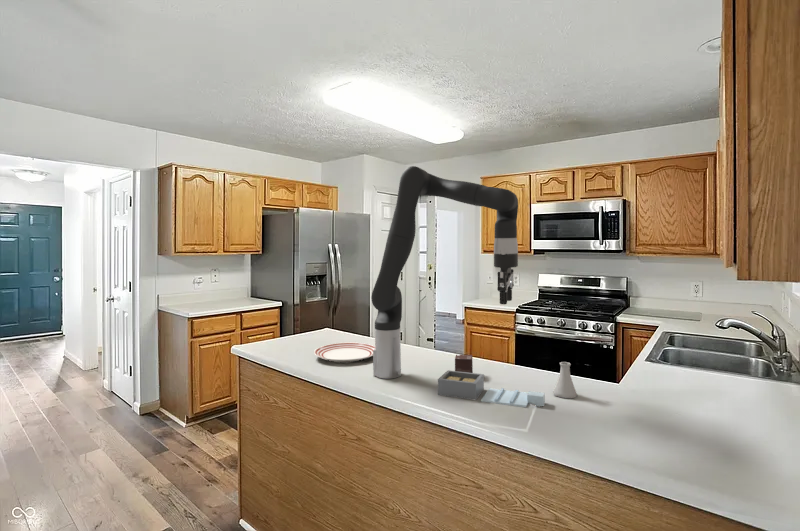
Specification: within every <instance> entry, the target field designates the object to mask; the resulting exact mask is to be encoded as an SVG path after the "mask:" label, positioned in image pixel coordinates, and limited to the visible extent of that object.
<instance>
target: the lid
mask: <svg viewBox="0 0 800 531" xmlns="http://www.w3.org/2000/svg"><path fill="white" fill-rule="evenodd" d="M545 398H546V396H545V392H541V391H540V392H539V391H534V390H533V391H531V390H529V391H528V392H525V391H519V389H515V390H507V389H505V388H503V387H501V389H499V388H491V387H490V388H488V389H487V391H486V392H485V394H484V395H483V396H482V398H481V400H480V401H481V402H483V403H491V404H498V405H506V406H510V407H511V406H514V407H520V408H527V407H528V404H534V405H536V406H535V407H540V406H545V404H544V403H546V402H545V401H546V400H545Z"/></svg>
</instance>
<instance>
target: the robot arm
mask: <svg viewBox="0 0 800 531" xmlns="http://www.w3.org/2000/svg"><path fill="white" fill-rule="evenodd" d="M420 196H425V197H426V196H429V197H431V196H432V197H439V198H444V199H449V200H452V201H457V202H459V203H462V204H467V205H471V206H476V207H485V208H487V209H492V210H495V211H496V221H495V223H494V240H493V267H494V268H500V270H499V271H497V274H496V275H497V291H498V292H499V304H500V305H507V304H508V302H510V301H512V300H513V288H514V285H515V284H514V271H515V270H514V268H517V267H519V265H518V264H519V260H518V259H519V248H518V247H519V244H518V228H517V225H518V224H517V220H518V212H519V200H518V196H517V195H516V194H515V193H514V192H513V191H512V190H510V189H506V188H502V187H501V188H500V187H493V186H487V185H483V184H479V183H475V182H471V181H470V182H469V181H462V180H451V179H446V178H443V177H442V178H441V177H440V176H439V177H438V176H436V175H433V174H431V173H429V172H428V171H426V170H425V169H423V168H421V167H418V166H414V165H411V166H408V167H407V168H405V169H404V170H403V172H402V173H401V176H400V178H399V185H398V191H397V200H396V202H395V203H396V205H395V208H394V211H393V212H394V213H393V216H392V219H391V224H390V227H389V231H388V234H387V239H386V243H385V247H384V251H383V252H384V253H383V256H382V260H381V264H380V270H379V272H378V275H377V279H376V281H375V283H374V287H373V289H372V292H371V297H370V298H371V304H372V305H373V307H374V308H375V310H377V316H376V319H375V321H374V346H375V349H374V350H373V356H372V363H373V364H372V370H373V372H372V374H373V376H374V377H377V378H379V379H386V380H387V379H389V380H391V379H395V378H398V377H400V376H402V358H401V357H402V356H401V355H402V354H401V353H402V352H401V351H402V350H401V349H402V348H401V321H402V319H403V316H402V315H403V314H402V313H403V296H402V292H401V289H400V288H399V286H398V283H399V279H400V275H401V273H402V271H403V269H404V267H405V265H406V263H407V261H408V259H409V257H410V255H411V252H412V250H413V249H412V248H413V245H414V241H415V238H416V230H417V229H416V228H417V227H416V212H417V211H416V210H417V205H418V202H419V198H420Z"/></svg>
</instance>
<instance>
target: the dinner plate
mask: <svg viewBox="0 0 800 531" xmlns="http://www.w3.org/2000/svg"><path fill="white" fill-rule="evenodd" d="M374 349H375V345H373V344H369V343H364V342H350V341H349V342H336V343H329V344H324V345H322V346H319V347H317V348H315V349H314V350H313V354H314V355H315V356H316V357H318V358H319V359H323V360H326V361H328V360H329V362H331V361H334V362H333V363H340V362H346V363H354V362H353V361H356V362H360V361H359V360H361V361H364V360H367V359H369V358H371V357H373V350H374ZM363 359H364V360H363Z"/></svg>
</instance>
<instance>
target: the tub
mask: <svg viewBox="0 0 800 531" xmlns="http://www.w3.org/2000/svg"><path fill="white" fill-rule="evenodd" d="M449 376H453V377H461V381H458V380H450V379H447V378H448V377H449ZM484 376H485V374H484V373H475V372H473V373H468V372H459V371H455V370H450V369H449V370H446V371H445V372H444V373H443V374H442V375H441V376H440V377H439V378H437V395H438V396H443V397H444V396H445V397H450V398H459V399H467V400H474V401H477V399H478V398H479V397H480V395H481V394H482V393H483V391H484V390H485V389H484V388H485V387H484V386H485V382H484V381H485V378H484ZM464 378H470V379H476V380H475V381H474V382H466V381H462V380H463V379H464Z"/></svg>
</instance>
